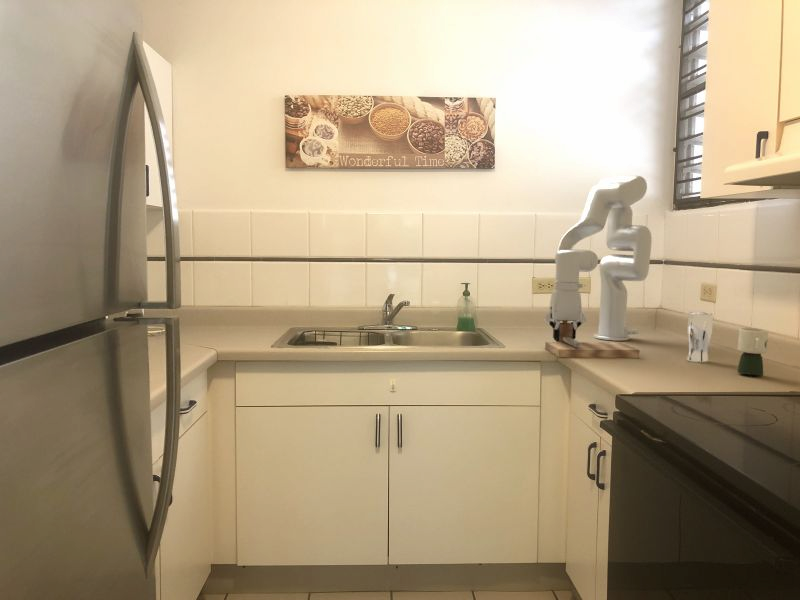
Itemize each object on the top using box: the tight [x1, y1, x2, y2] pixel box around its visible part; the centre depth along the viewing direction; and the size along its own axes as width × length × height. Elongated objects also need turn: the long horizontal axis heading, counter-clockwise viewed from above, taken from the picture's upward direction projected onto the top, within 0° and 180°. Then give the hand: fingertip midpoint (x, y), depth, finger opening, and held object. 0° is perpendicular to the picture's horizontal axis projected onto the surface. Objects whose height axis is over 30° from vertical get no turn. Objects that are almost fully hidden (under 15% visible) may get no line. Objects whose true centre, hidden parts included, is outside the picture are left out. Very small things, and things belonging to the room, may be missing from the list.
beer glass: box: [686, 311, 714, 364], centre depth 194 cm, size 7×7×15 cm
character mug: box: [737, 327, 769, 377], centre depth 175 cm, size 11×7×13 cm, turn 166°
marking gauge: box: [555, 321, 582, 347], centre depth 205 cm, size 4×15×9 cm, turn 4°
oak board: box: [544, 341, 640, 359], centre depth 203 cm, size 26×14×3 cm, turn 94°
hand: (564, 340), depth 212 cm, fingers closed on marking gauge, 4 cm apart
